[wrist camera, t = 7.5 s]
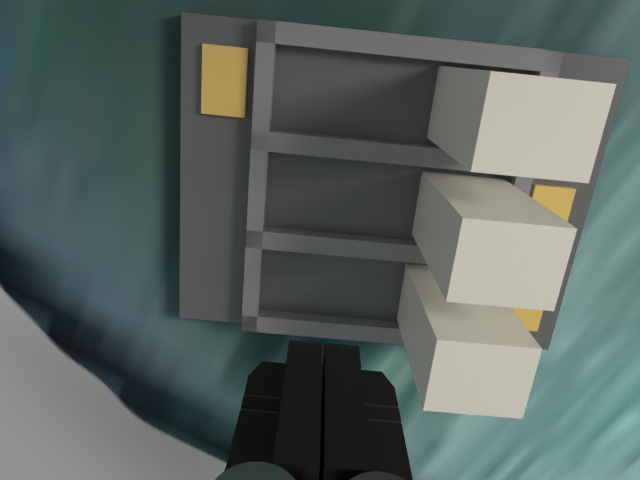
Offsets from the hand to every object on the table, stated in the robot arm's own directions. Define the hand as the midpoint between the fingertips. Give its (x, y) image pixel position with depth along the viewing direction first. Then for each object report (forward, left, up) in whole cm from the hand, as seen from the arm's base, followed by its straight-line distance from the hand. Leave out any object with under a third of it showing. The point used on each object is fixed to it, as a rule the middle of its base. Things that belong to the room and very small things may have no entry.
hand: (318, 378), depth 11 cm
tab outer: (-7, +5, -15) cm, 17 cm away
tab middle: (-7, 0, -15) cm, 16 cm away
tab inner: (-7, -5, -15) cm, 17 cm away
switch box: (-3, 0, -16) cm, 16 cm away
